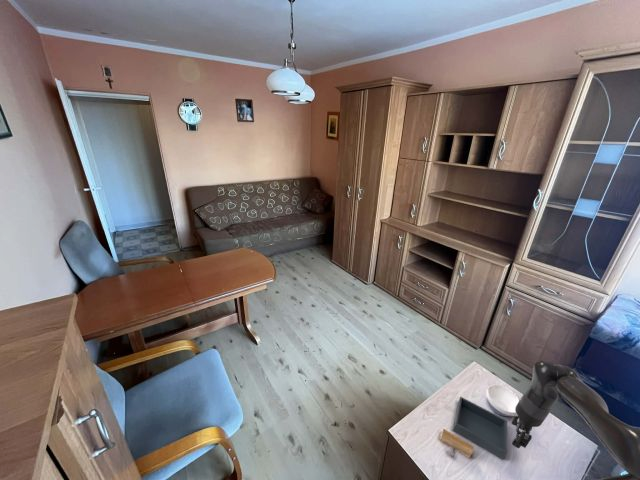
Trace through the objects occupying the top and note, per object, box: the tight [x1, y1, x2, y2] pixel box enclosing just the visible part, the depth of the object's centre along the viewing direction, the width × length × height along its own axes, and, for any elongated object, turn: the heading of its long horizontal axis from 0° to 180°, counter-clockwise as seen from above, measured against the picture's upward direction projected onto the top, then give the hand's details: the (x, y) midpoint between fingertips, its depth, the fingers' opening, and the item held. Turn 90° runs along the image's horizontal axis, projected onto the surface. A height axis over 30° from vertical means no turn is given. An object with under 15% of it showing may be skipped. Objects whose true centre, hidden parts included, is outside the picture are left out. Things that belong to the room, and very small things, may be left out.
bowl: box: [485, 383, 520, 417], centre depth 130 cm, size 14×14×8 cm
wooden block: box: [439, 428, 474, 459], centre depth 112 cm, size 7×12×5 cm, turn 57°
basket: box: [452, 396, 508, 460], centre depth 121 cm, size 16×20×6 cm
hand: (515, 434), depth 96 cm, fingers open, 8 cm apart
